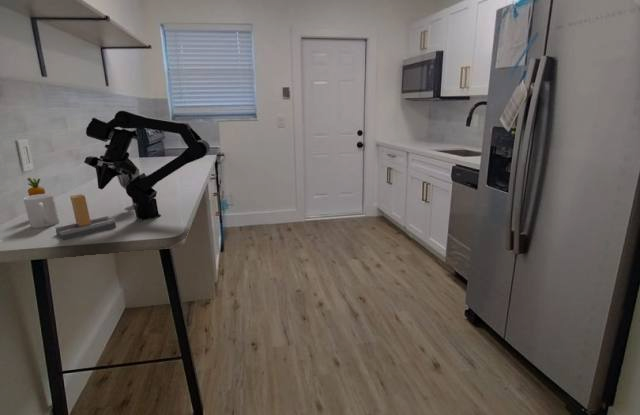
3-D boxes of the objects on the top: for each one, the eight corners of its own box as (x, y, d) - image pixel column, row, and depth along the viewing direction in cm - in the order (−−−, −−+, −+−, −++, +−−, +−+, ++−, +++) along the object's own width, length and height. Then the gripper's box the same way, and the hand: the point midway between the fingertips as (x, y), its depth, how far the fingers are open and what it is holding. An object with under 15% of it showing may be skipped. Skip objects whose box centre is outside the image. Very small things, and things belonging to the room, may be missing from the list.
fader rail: (107, 222, 129) (106, 215, 128) (116, 227, 123) (114, 219, 123) (56, 234, 118) (55, 226, 118) (63, 240, 113) (61, 232, 112)
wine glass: (118, 210, 145) (111, 172, 141) (134, 204, 152) (127, 168, 148) (135, 210, 142) (128, 172, 138) (149, 205, 150) (143, 168, 146)
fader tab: (88, 223, 123) (81, 193, 120) (92, 226, 120) (86, 196, 117) (75, 226, 121) (68, 196, 118) (80, 229, 117) (73, 198, 114)
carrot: (54, 214, 141) (44, 176, 137) (41, 218, 137) (31, 178, 133) (44, 214, 143) (34, 176, 139) (31, 218, 138) (20, 178, 134)
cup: (58, 219, 135) (52, 192, 133) (61, 226, 126) (54, 198, 124) (30, 224, 130) (22, 196, 128) (31, 232, 121) (23, 202, 119)
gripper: (156, 158, 128) (139, 201, 124) (120, 155, 136) (103, 194, 132) (130, 143, 118) (111, 188, 115) (92, 140, 126) (73, 182, 122)
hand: (100, 188), depth 121 cm, fingers closed
